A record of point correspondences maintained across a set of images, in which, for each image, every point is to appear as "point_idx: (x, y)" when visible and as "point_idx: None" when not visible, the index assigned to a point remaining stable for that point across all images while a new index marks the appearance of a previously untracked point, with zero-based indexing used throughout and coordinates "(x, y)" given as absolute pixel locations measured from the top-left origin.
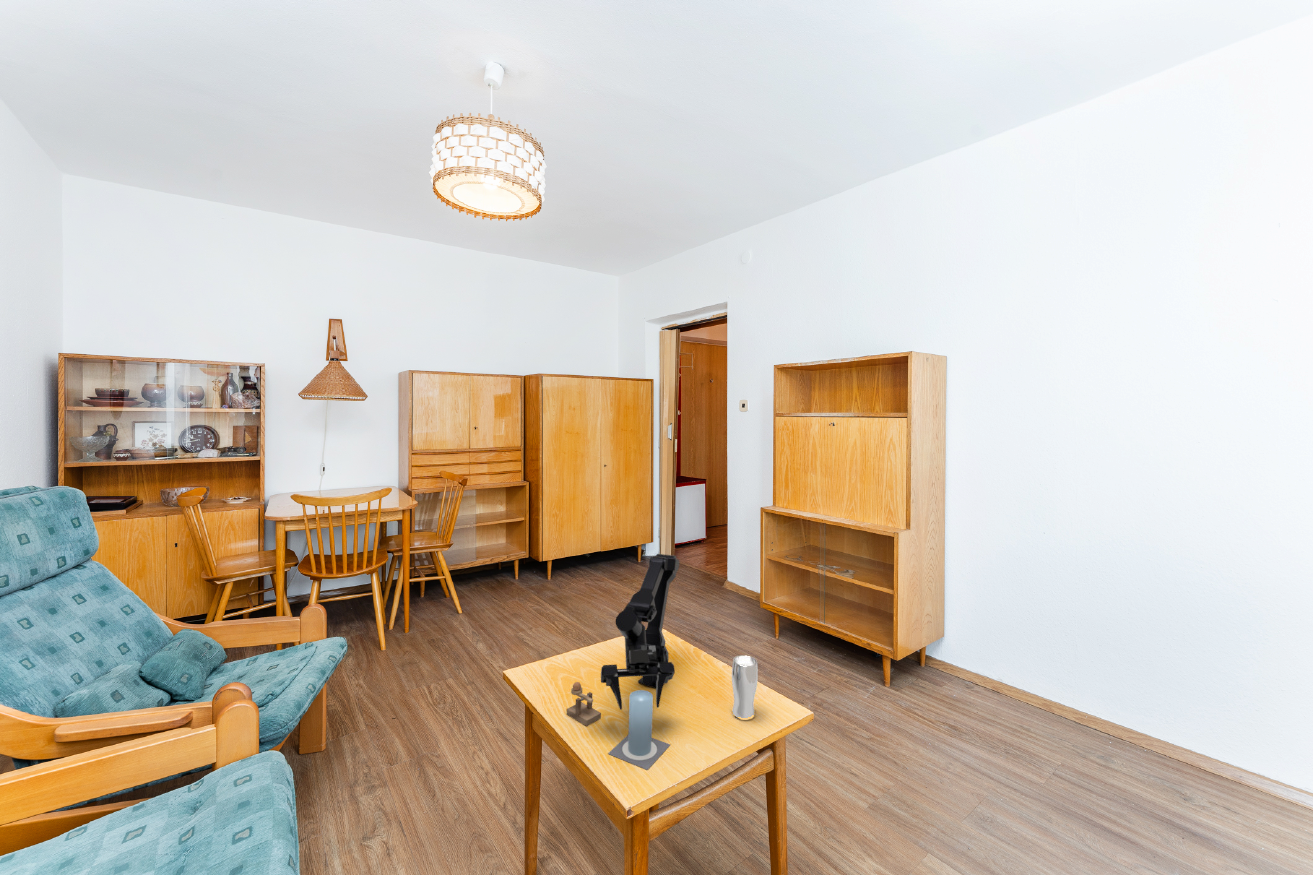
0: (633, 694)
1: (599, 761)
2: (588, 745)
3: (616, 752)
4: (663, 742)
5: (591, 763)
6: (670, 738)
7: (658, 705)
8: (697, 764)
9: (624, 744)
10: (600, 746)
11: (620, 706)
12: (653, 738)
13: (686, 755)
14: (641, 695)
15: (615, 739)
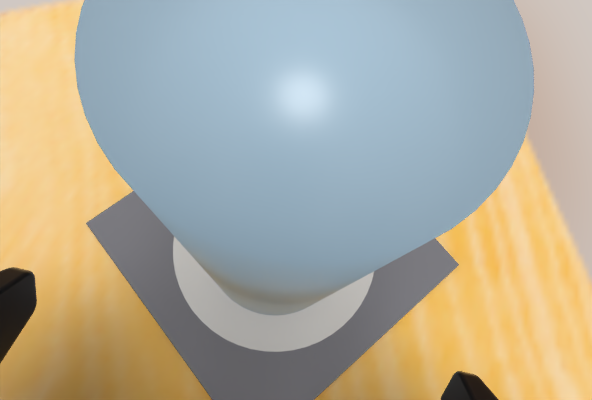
0: (443, 142)
1: (508, 219)
2: (557, 381)
3: (411, 256)
4: (115, 255)
5: (549, 218)
6: (51, 284)
7: (11, 271)
8: (42, 38)
9: (350, 312)
10: (488, 347)
11: (481, 385)
12: (155, 316)
13: (53, 113)
14: (300, 56)
15: (388, 389)
